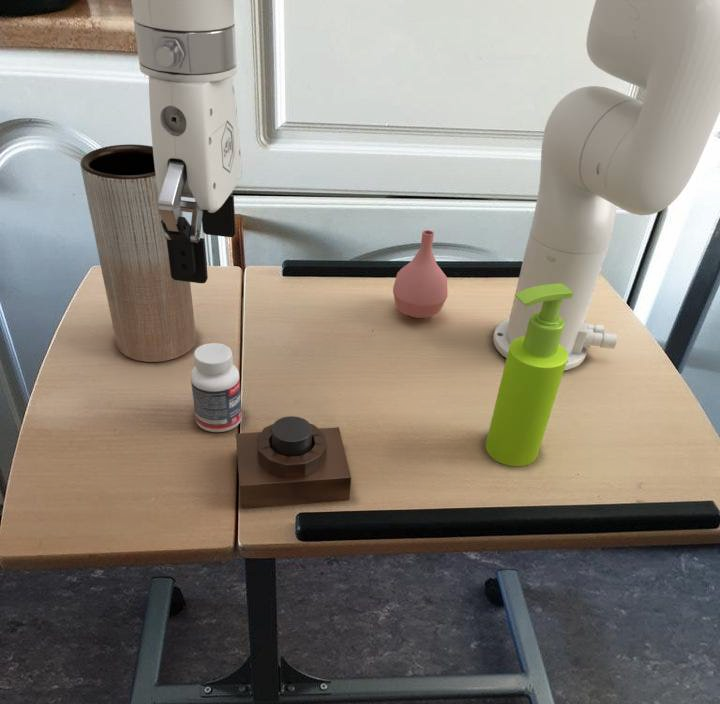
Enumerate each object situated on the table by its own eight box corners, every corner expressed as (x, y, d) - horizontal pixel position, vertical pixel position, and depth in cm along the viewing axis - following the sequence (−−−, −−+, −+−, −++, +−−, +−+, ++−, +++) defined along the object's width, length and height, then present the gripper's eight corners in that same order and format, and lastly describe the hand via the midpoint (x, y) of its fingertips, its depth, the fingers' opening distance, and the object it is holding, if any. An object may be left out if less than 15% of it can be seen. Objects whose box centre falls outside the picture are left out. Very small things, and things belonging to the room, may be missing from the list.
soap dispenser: (468, 440, 80) (503, 279, 67) (519, 428, 83) (563, 270, 69) (494, 473, 77) (538, 309, 63) (547, 459, 79) (600, 298, 65)
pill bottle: (238, 435, 79) (233, 368, 72) (191, 432, 78) (182, 365, 72) (245, 406, 82) (241, 341, 76) (200, 403, 82) (193, 338, 76)
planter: (198, 360, 88) (177, 176, 73) (115, 365, 87) (75, 177, 71) (195, 319, 96) (175, 143, 80) (118, 323, 94) (83, 143, 78)
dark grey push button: (309, 430, 73) (309, 414, 71) (314, 456, 70) (314, 440, 68) (270, 432, 72) (269, 417, 71) (273, 458, 69) (273, 442, 68)
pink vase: (385, 322, 98) (393, 239, 90) (396, 296, 104) (404, 216, 96) (439, 332, 97) (453, 249, 89) (447, 305, 103) (461, 225, 95)
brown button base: (337, 449, 78) (339, 413, 74) (349, 500, 72) (352, 464, 69) (237, 456, 76) (234, 419, 73) (241, 508, 70) (238, 472, 67)
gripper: (202, 83, 48) (219, 306, 60) (259, 31, 61) (265, 224, 73) (96, 71, 49) (133, 295, 60) (175, 22, 61) (193, 215, 73)
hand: (205, 256), depth 67 cm, fingers open, 9 cm apart
